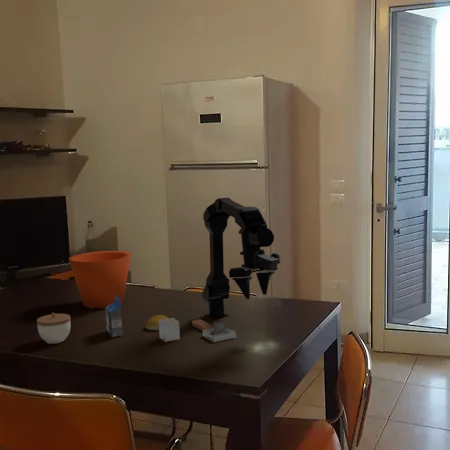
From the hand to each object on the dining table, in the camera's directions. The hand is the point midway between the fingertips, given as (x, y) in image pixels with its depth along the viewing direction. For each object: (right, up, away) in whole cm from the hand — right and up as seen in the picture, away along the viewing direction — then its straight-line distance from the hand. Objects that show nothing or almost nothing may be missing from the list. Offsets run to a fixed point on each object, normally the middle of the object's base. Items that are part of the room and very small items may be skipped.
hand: (256, 296), depth 184 cm
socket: (-28, -14, +6) cm, 32 cm away
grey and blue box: (-47, -14, +15) cm, 52 cm away
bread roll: (-33, -13, +20) cm, 41 cm away
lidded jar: (-66, -16, +9) cm, 69 cm away
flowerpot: (-60, -10, +57) cm, 83 cm away
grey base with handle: (-15, -13, +11) cm, 23 cm away
